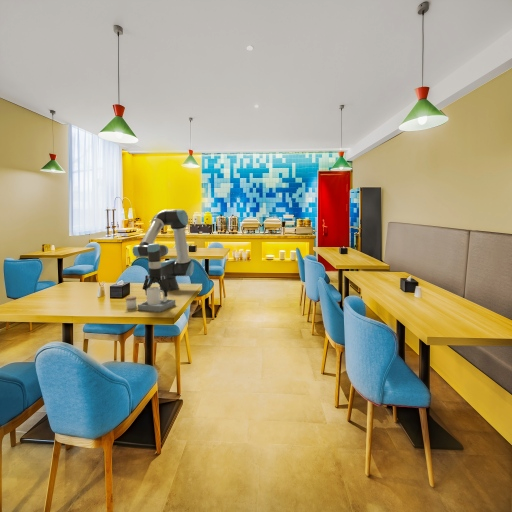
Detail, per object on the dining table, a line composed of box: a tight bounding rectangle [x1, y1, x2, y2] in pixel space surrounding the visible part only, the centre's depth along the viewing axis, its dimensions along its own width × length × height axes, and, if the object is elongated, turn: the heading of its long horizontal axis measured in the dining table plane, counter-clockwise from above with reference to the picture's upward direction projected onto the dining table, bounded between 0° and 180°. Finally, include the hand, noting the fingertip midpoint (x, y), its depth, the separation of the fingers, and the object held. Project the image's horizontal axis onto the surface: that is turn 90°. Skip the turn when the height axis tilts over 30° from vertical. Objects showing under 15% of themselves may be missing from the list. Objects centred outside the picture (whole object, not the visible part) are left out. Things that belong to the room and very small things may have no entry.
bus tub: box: [137, 298, 176, 313], centre depth 207 cm, size 17×17×4 cm
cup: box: [146, 286, 164, 305], centre depth 206 cm, size 8×12×10 cm
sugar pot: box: [125, 295, 138, 310], centre depth 207 cm, size 7×7×7 cm
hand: (156, 300), depth 207 cm, fingers closed on cup, 12 cm apart
